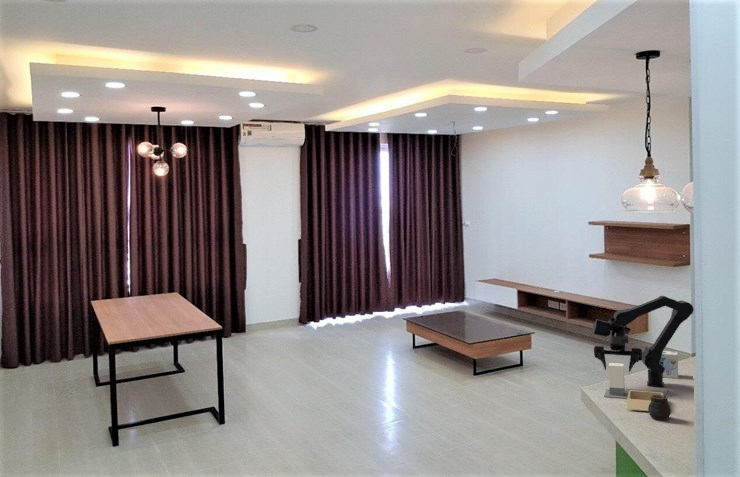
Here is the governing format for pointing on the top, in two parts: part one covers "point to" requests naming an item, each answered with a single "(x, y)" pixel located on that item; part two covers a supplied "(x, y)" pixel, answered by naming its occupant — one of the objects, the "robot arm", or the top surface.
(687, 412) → the top surface
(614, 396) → the mat
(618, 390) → the box
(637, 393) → the tan rectangular open frame
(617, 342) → the robot arm
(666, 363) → the light bulb box
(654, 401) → the mate gourd
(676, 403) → the top surface
